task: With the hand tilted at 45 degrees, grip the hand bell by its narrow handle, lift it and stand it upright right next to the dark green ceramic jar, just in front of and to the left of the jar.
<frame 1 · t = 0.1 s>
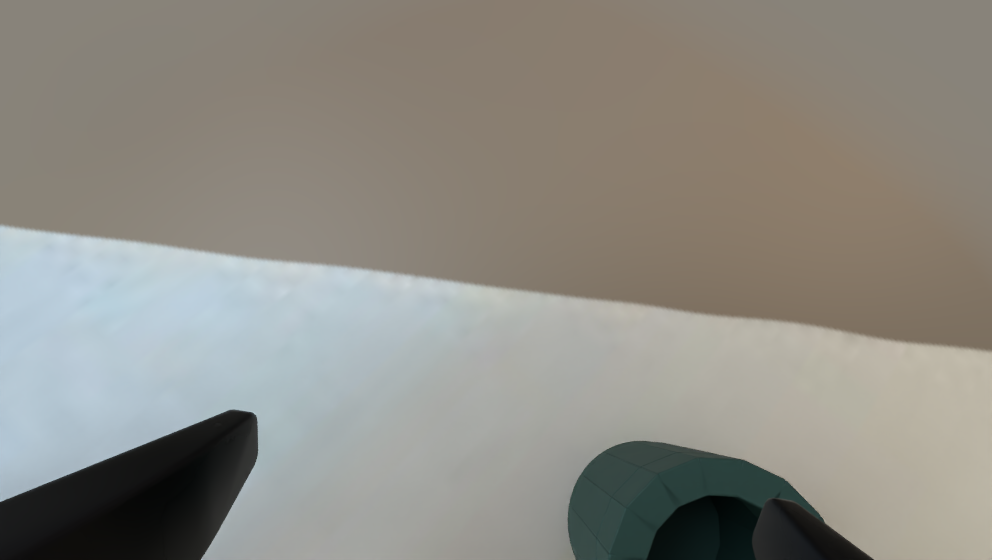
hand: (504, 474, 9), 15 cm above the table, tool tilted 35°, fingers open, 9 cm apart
jar: (645, 522, 22), on the table
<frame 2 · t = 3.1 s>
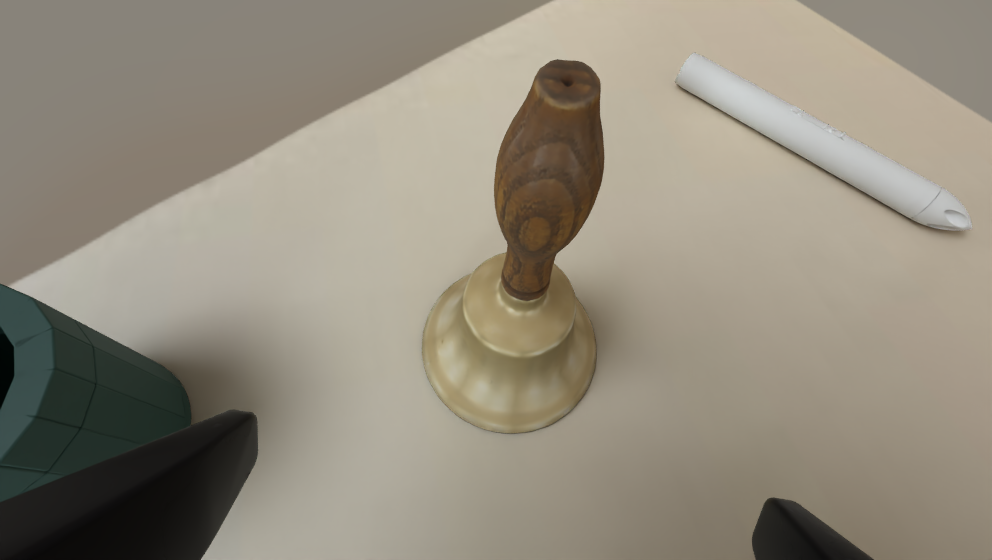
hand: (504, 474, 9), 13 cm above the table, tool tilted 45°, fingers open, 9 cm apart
jar: (104, 438, 21), on the table
hand bell: (509, 345, 24), on the table
white cylindrical rod: (804, 156, 30), on the table
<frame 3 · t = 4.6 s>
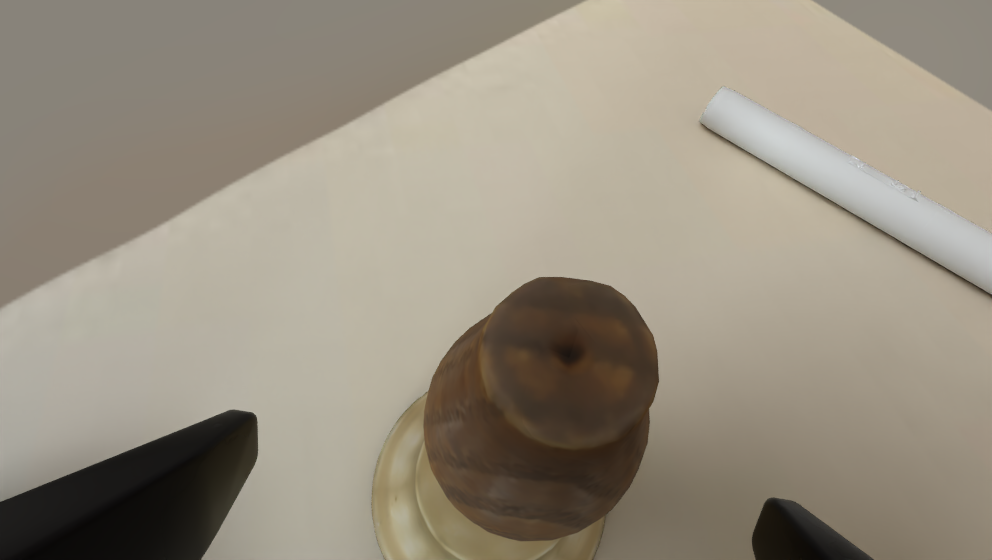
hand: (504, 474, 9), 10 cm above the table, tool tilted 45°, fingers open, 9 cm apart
hand bell: (490, 487, 18), on the table
white cylindrical rod: (861, 215, 24), on the table
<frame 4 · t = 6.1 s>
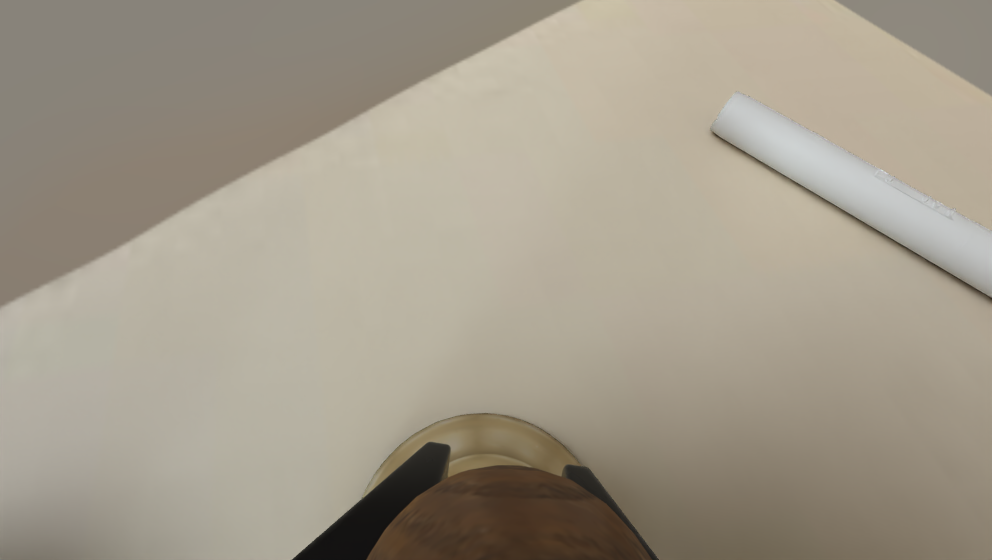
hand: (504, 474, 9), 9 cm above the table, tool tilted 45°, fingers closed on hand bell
hand bell: (481, 545, 16), on the table, touching gripper
white cylindrical rod: (887, 233, 22), on the table
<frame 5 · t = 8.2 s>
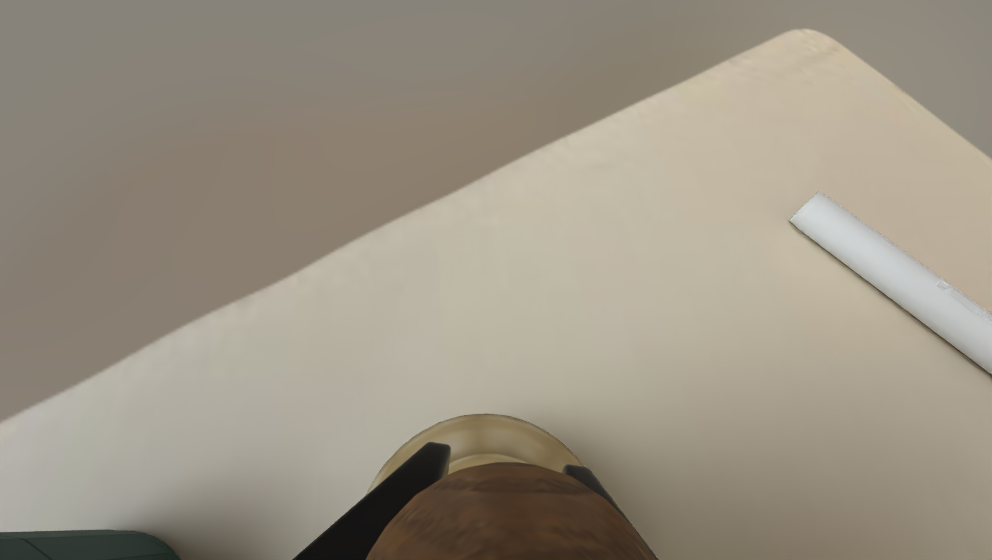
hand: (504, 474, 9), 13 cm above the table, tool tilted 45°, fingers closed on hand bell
hand bell: (483, 546, 16), point 4 cm above the table, touching gripper
white cylindrical rod: (942, 333, 25), on the table
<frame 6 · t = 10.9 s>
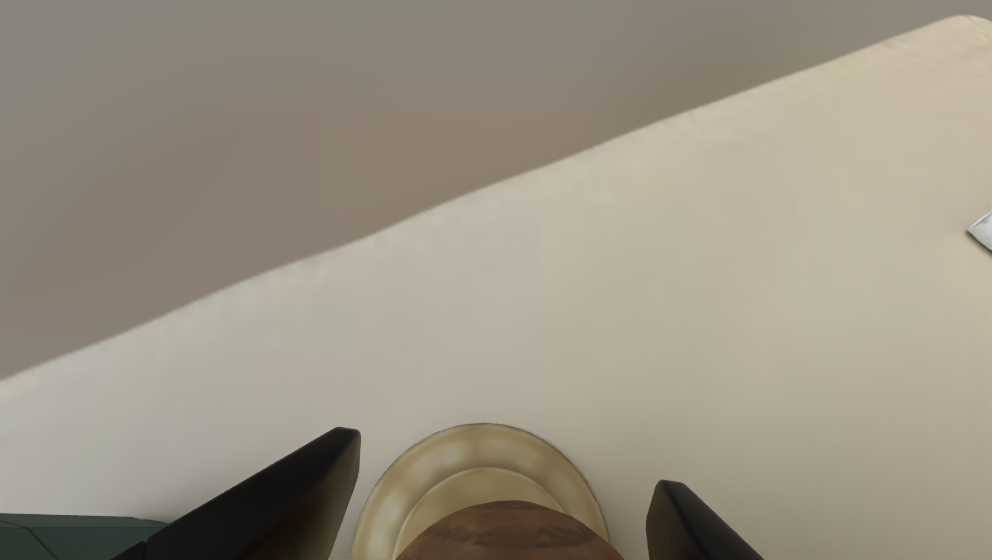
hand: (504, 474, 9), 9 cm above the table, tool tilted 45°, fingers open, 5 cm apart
hand bell: (482, 556, 16), on the table
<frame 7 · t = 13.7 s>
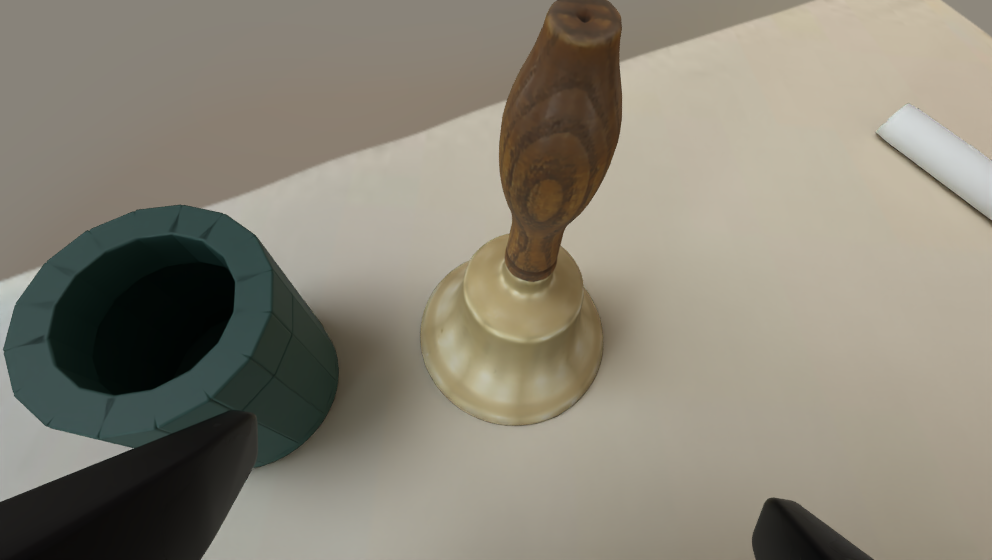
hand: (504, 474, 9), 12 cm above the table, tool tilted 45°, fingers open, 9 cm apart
jar: (255, 382, 21), on the table
hand bell: (511, 334, 23), on the table
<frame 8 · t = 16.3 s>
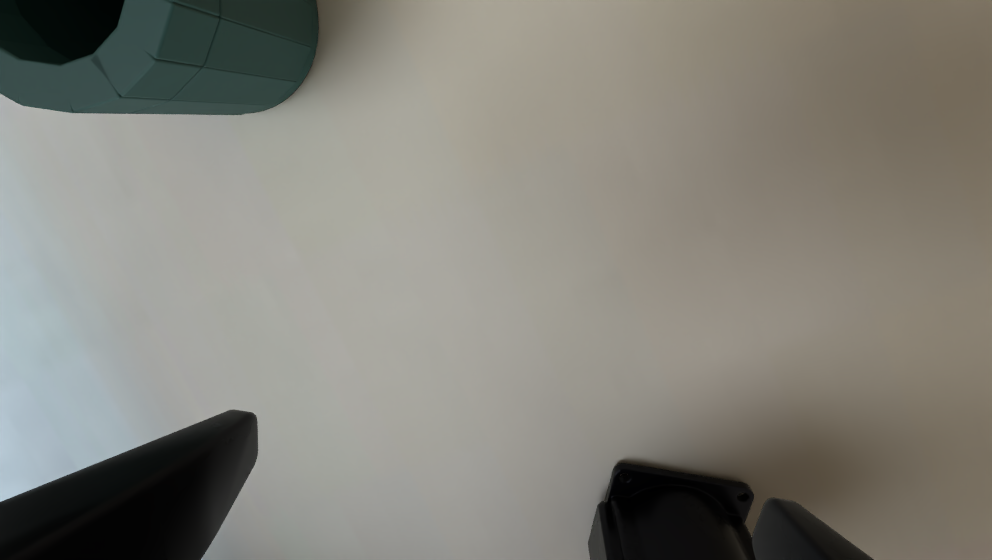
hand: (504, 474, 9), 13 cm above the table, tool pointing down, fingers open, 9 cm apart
jar: (229, 16, 19), on the table
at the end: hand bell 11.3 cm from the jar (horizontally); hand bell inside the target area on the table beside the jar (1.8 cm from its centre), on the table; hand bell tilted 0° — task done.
